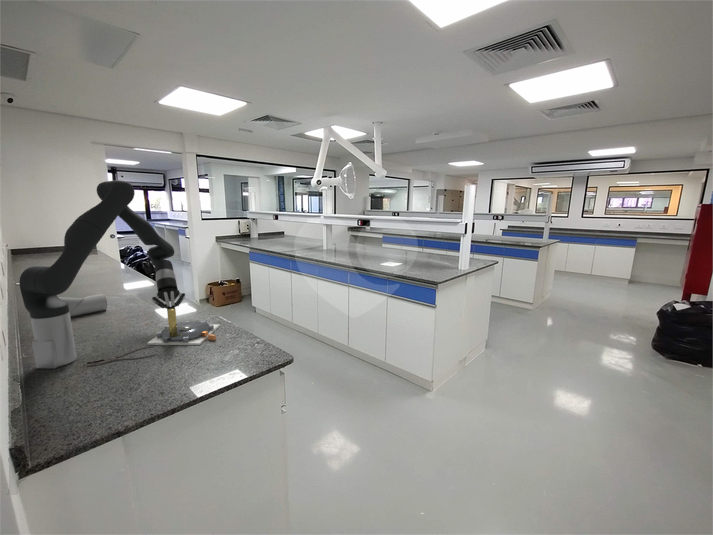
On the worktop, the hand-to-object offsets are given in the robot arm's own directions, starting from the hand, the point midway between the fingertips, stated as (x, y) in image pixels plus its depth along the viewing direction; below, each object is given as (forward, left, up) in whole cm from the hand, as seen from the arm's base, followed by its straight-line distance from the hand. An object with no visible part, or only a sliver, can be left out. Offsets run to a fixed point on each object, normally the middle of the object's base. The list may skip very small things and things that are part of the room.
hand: (172, 315), depth 129 cm
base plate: (-2, -8, -8) cm, 12 cm away
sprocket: (-2, -6, -7) cm, 10 cm away
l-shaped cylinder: (+24, +60, -8) cm, 65 cm away
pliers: (-23, +5, -9) cm, 25 cm away
